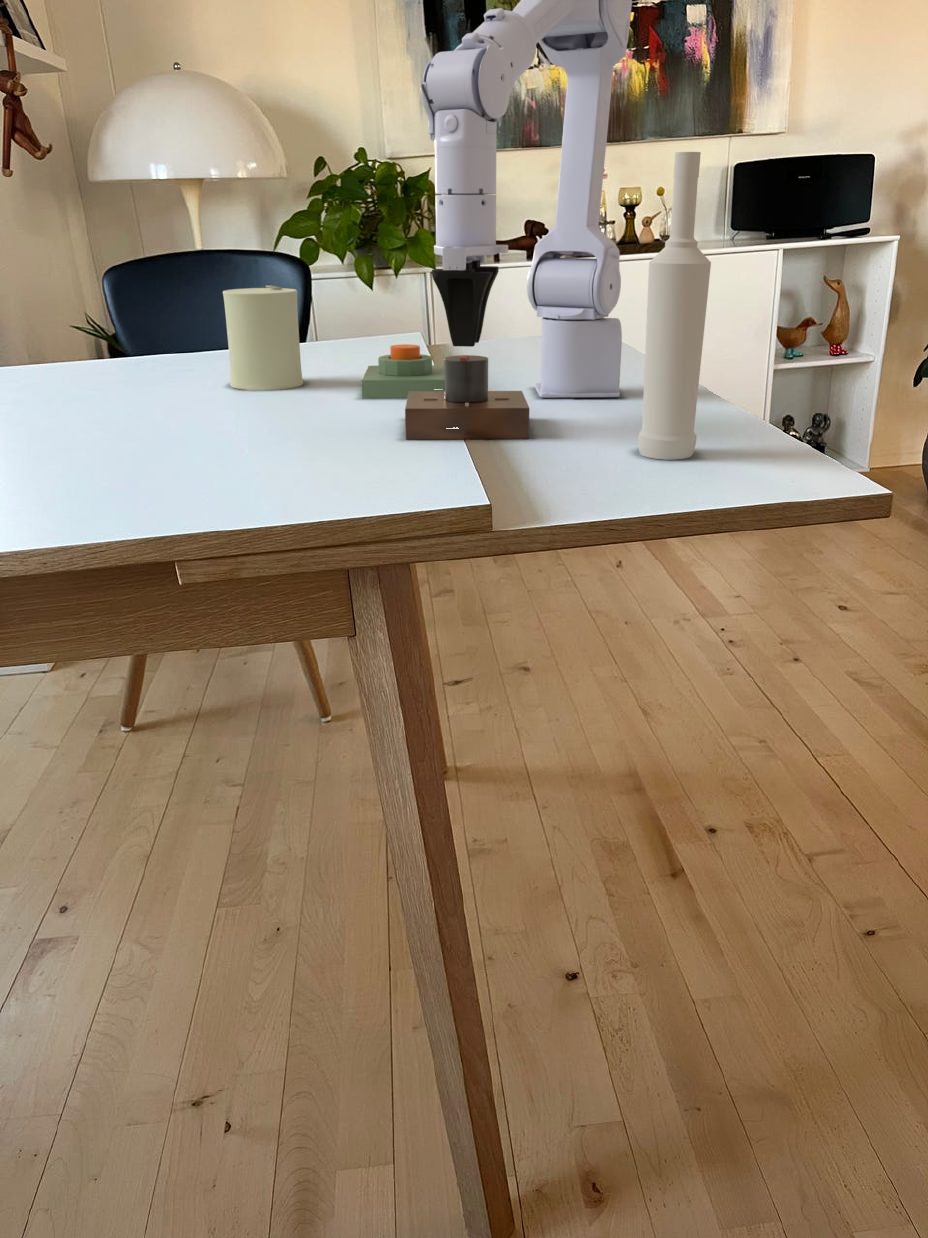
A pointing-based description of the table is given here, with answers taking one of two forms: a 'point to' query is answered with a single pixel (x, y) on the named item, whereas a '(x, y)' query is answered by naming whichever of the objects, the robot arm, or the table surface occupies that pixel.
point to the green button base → (401, 377)
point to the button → (405, 352)
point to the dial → (466, 378)
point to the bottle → (675, 326)
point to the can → (263, 338)
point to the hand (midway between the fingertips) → (466, 344)
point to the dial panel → (467, 416)
